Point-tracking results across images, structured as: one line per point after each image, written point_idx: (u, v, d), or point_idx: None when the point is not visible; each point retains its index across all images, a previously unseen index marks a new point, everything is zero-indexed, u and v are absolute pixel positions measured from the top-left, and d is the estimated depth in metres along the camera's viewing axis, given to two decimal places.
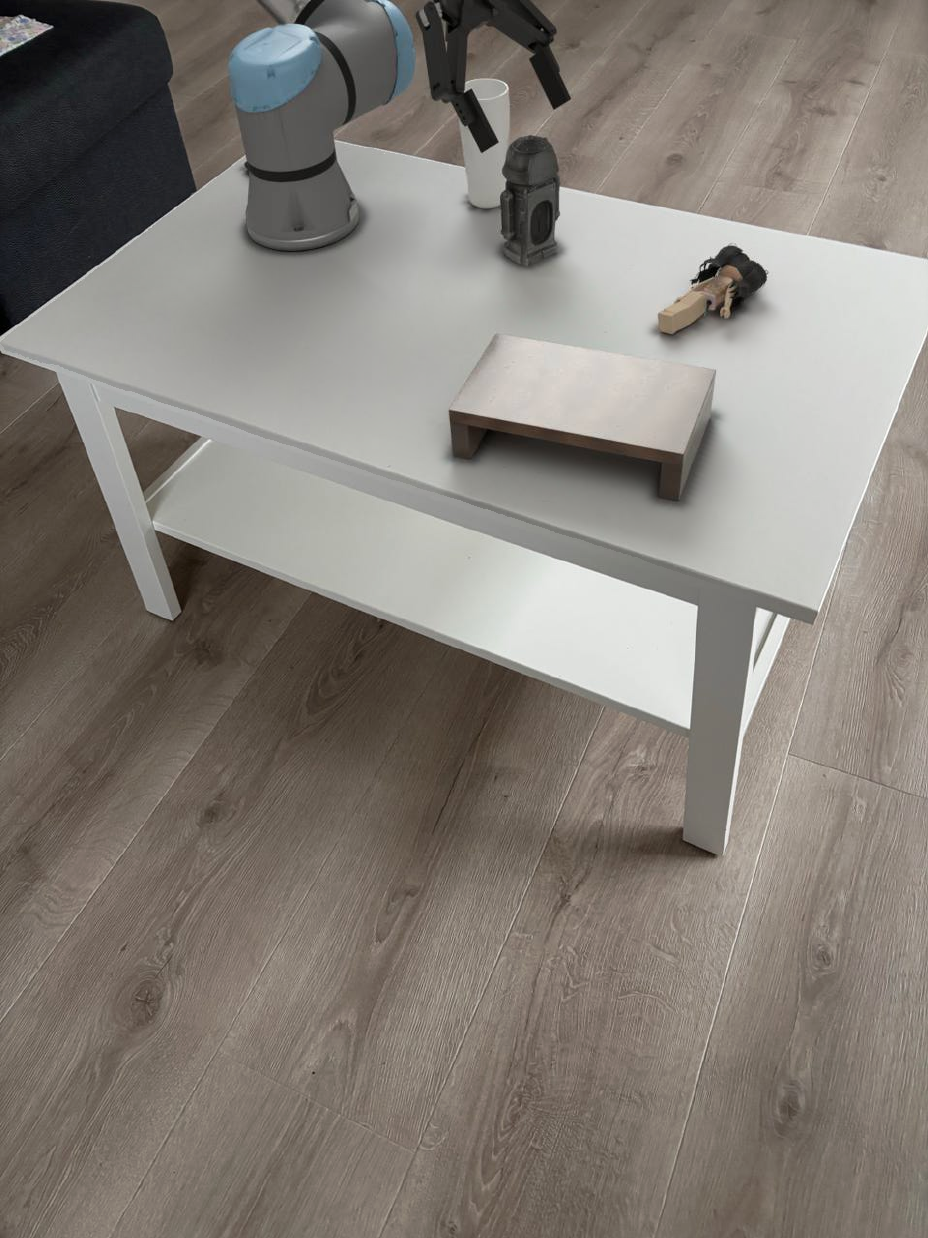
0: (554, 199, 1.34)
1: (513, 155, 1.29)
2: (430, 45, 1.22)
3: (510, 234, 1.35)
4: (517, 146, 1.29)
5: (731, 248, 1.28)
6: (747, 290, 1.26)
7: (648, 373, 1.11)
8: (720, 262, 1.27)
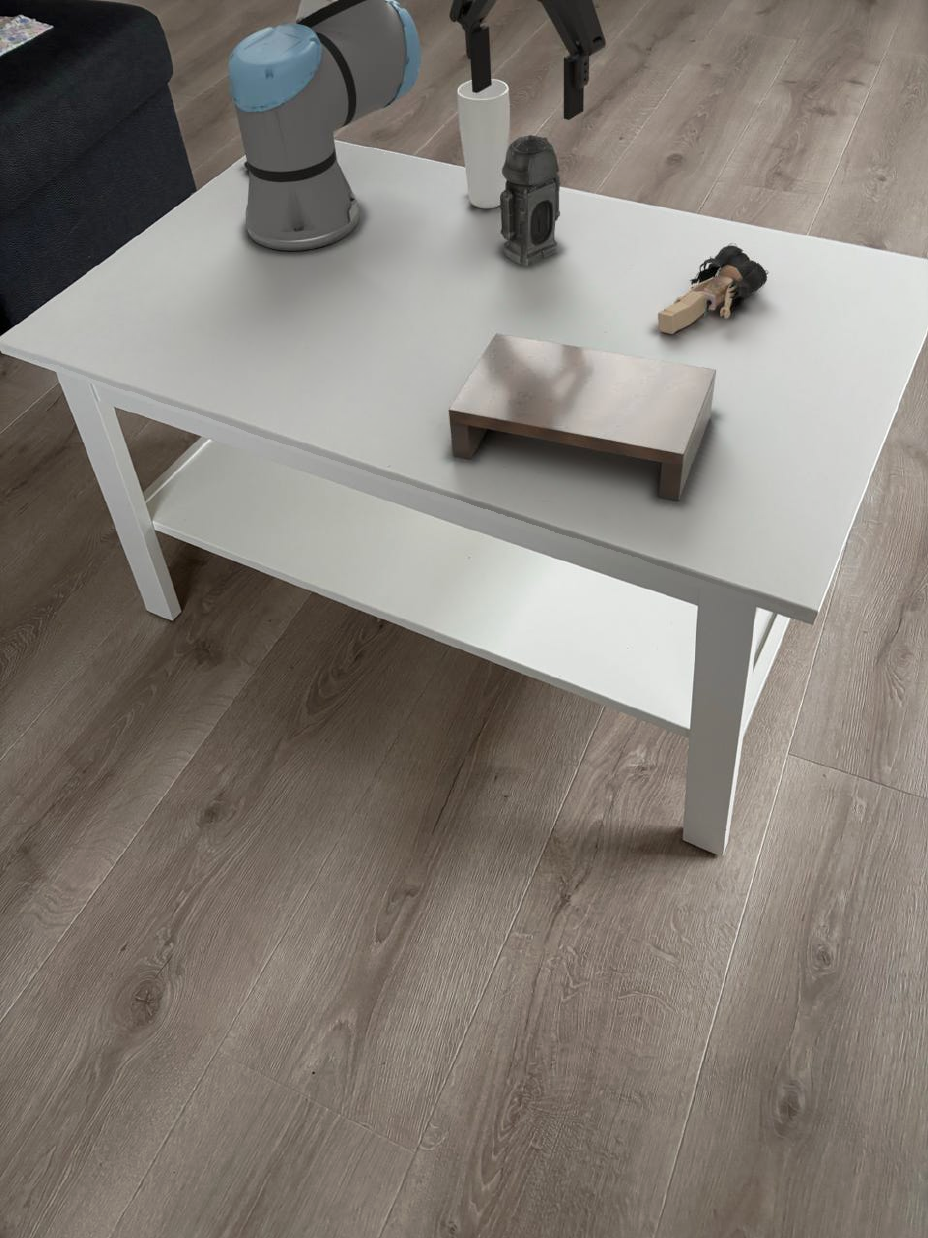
0: (554, 199, 1.34)
1: (513, 155, 1.29)
2: None
3: (510, 234, 1.35)
4: (517, 146, 1.29)
5: (731, 248, 1.28)
6: (747, 290, 1.26)
7: (648, 373, 1.11)
8: (720, 262, 1.27)
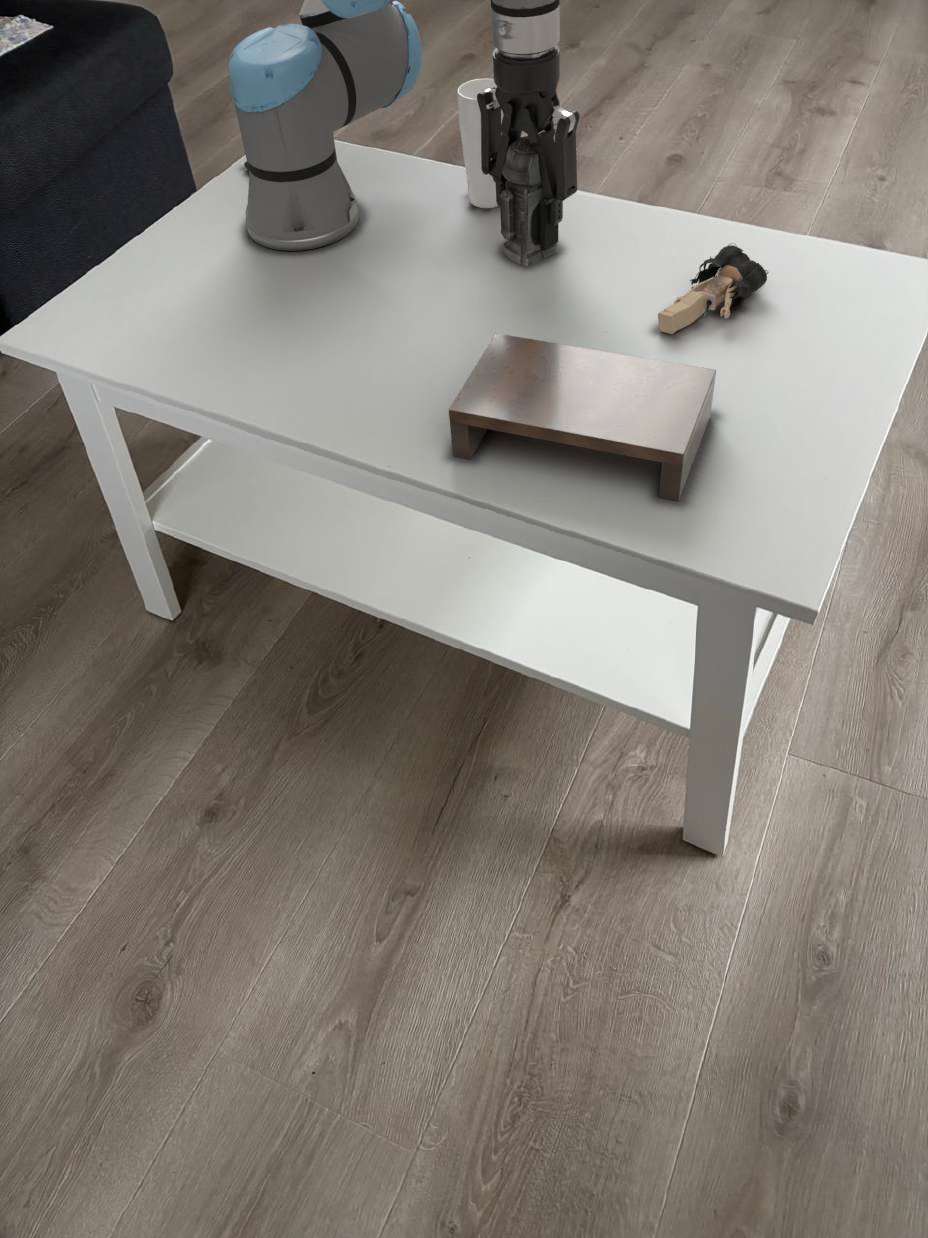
0: None
1: (514, 155, 1.29)
2: None
3: (510, 234, 1.35)
4: (517, 146, 1.29)
5: (731, 248, 1.28)
6: (747, 290, 1.26)
7: (648, 373, 1.11)
8: (720, 262, 1.27)
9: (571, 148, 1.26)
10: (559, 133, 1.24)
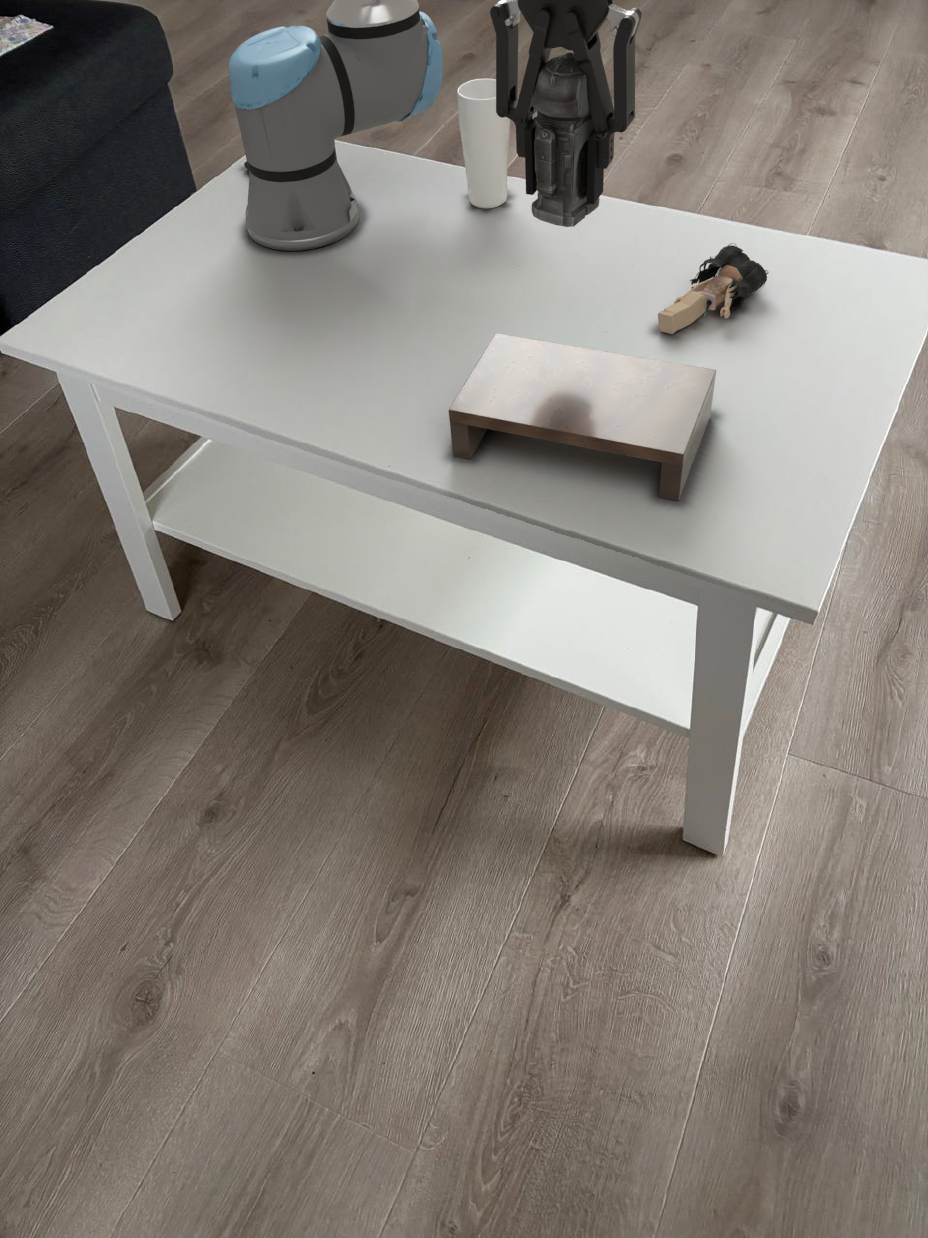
0: None
1: (554, 80, 0.98)
2: None
3: (552, 188, 1.04)
4: (556, 68, 0.98)
5: (731, 248, 1.28)
6: (747, 290, 1.26)
7: (648, 373, 1.11)
8: (720, 262, 1.27)
9: (631, 59, 0.97)
10: (621, 39, 0.95)
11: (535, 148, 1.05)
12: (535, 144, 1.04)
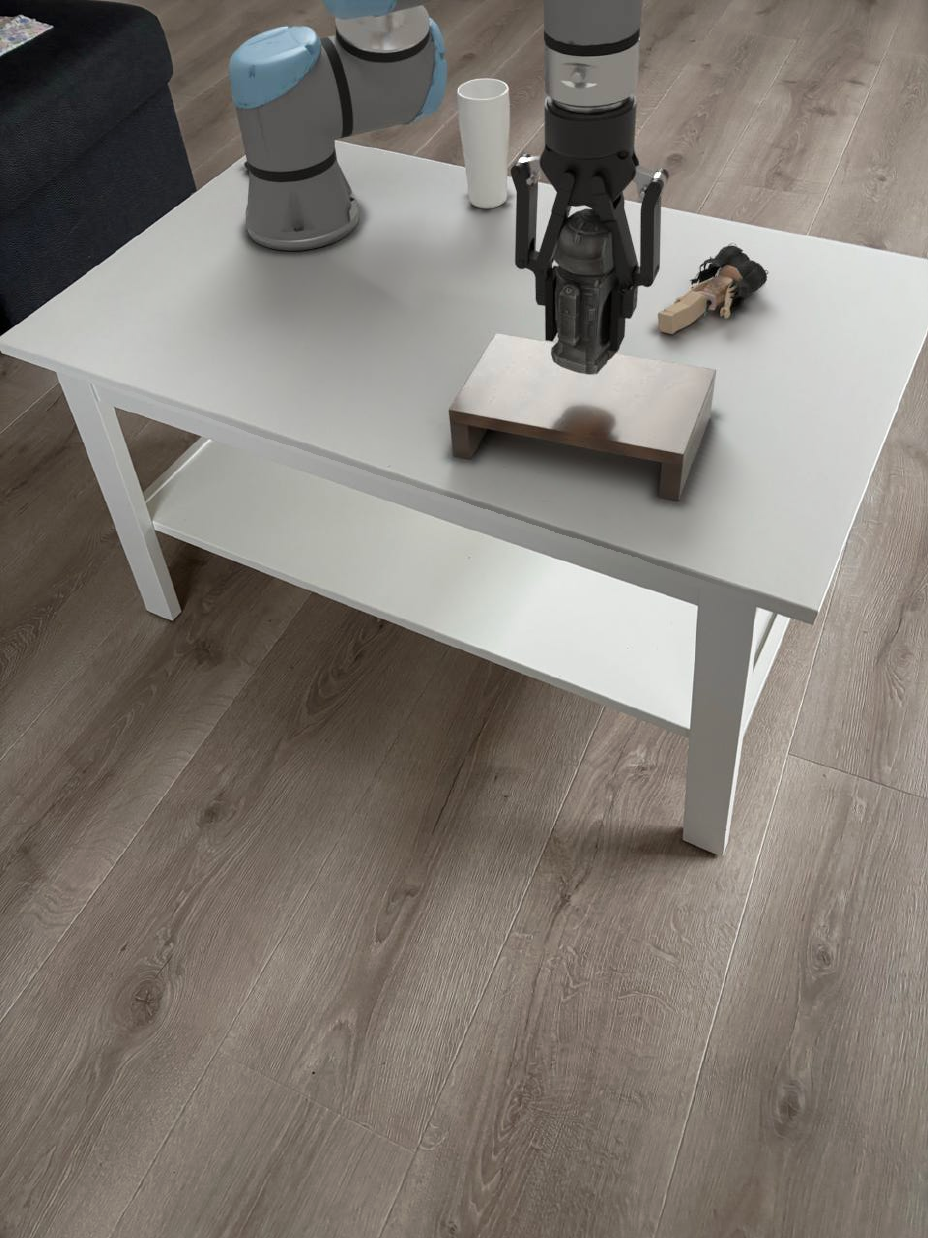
0: None
1: (579, 239, 0.95)
2: None
3: (575, 340, 1.01)
4: (580, 227, 0.95)
5: (731, 248, 1.28)
6: (747, 290, 1.26)
7: (648, 373, 1.11)
8: (720, 262, 1.27)
9: (658, 218, 0.94)
10: (649, 201, 0.92)
11: (556, 299, 1.02)
12: (556, 295, 1.01)
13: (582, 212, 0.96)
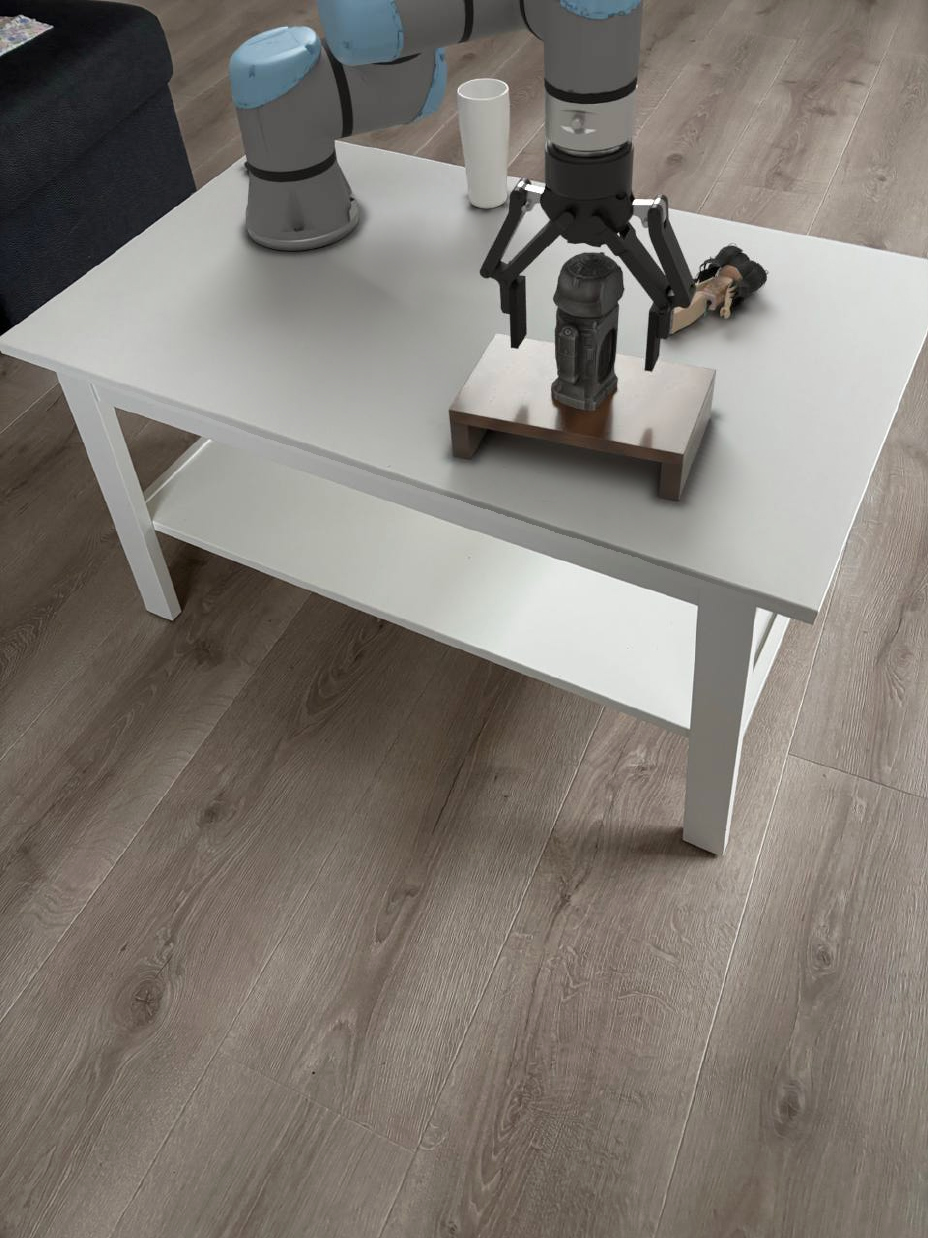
0: (617, 324, 1.05)
1: (578, 283, 0.99)
2: None
3: (574, 378, 1.04)
4: (579, 271, 0.99)
5: (731, 248, 1.28)
6: (747, 290, 1.26)
7: (648, 373, 1.11)
8: (720, 262, 1.27)
9: (672, 240, 0.95)
10: (654, 228, 0.94)
11: (556, 338, 1.05)
12: (556, 335, 1.05)
13: (581, 256, 1.00)
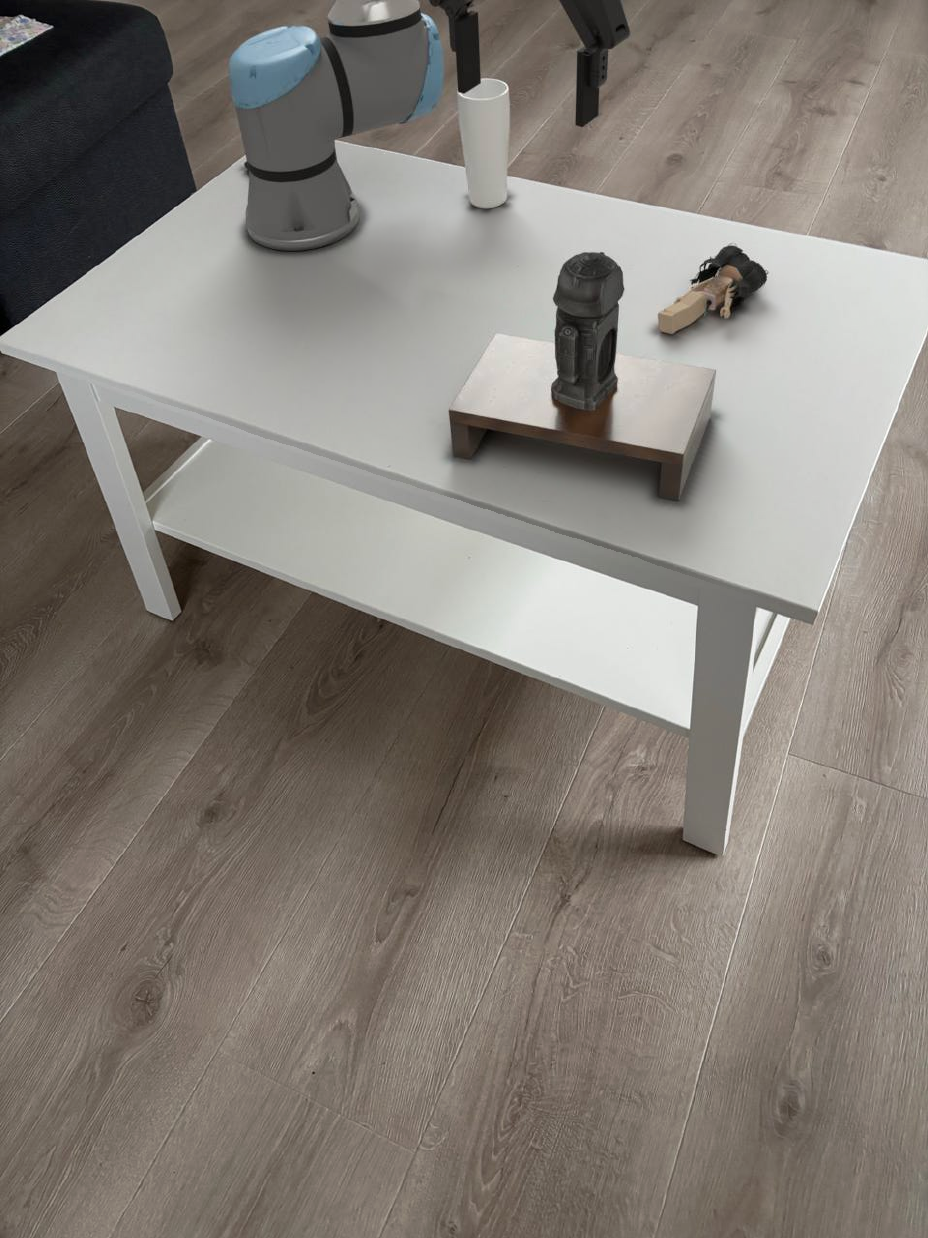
0: (617, 324, 1.05)
1: (578, 283, 0.99)
2: None
3: (574, 378, 1.04)
4: (579, 271, 0.99)
5: (731, 248, 1.28)
6: (747, 290, 1.26)
7: (648, 373, 1.11)
8: (720, 262, 1.27)
9: None
10: None
11: (556, 338, 1.05)
12: (556, 335, 1.05)
13: (580, 256, 1.00)
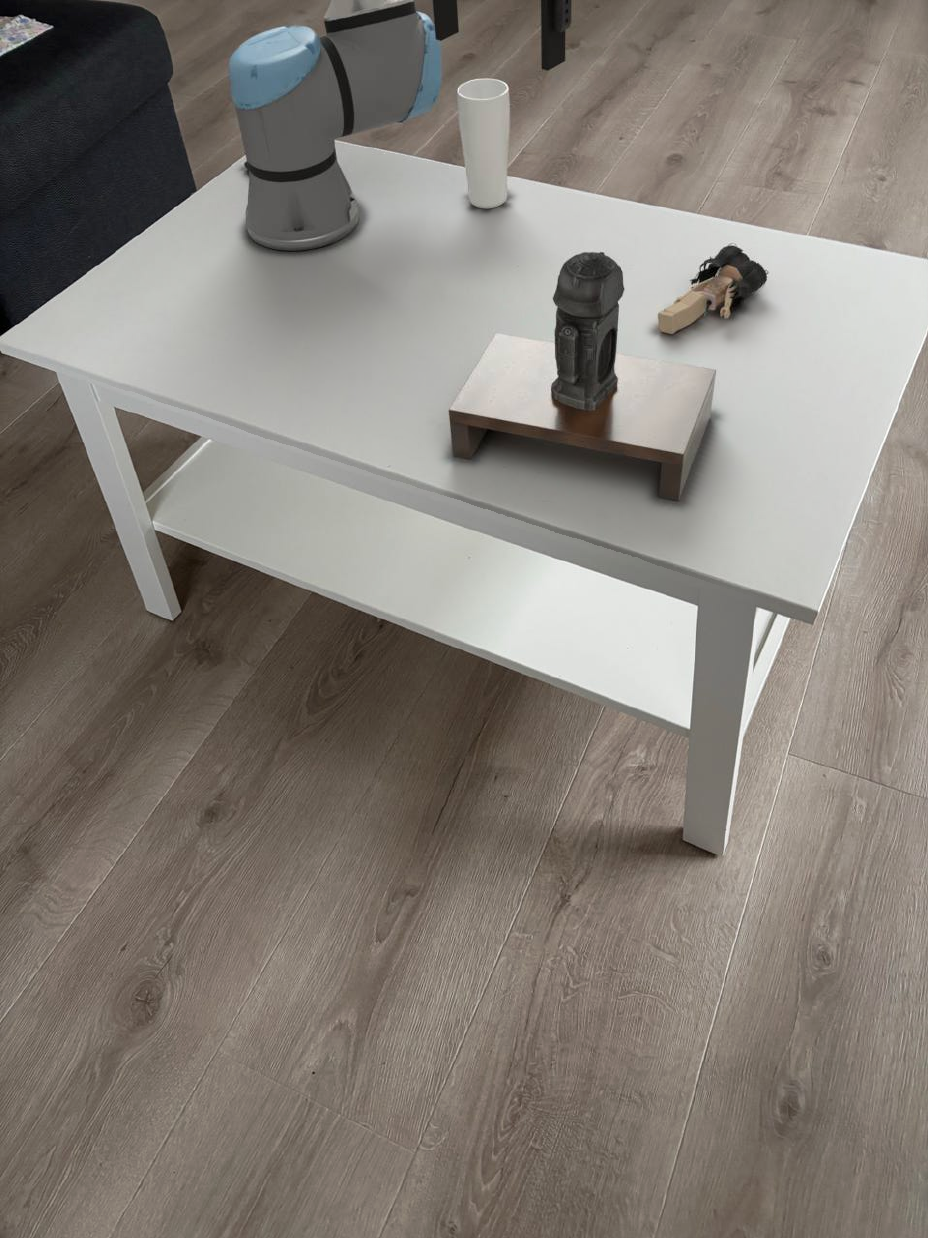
0: (617, 324, 1.05)
1: (578, 283, 0.99)
2: None
3: (574, 378, 1.04)
4: (579, 271, 0.99)
5: (731, 248, 1.28)
6: (747, 290, 1.26)
7: (648, 373, 1.11)
8: (720, 262, 1.27)
9: None
10: None
11: (556, 338, 1.05)
12: (556, 335, 1.05)
13: (580, 256, 1.00)
